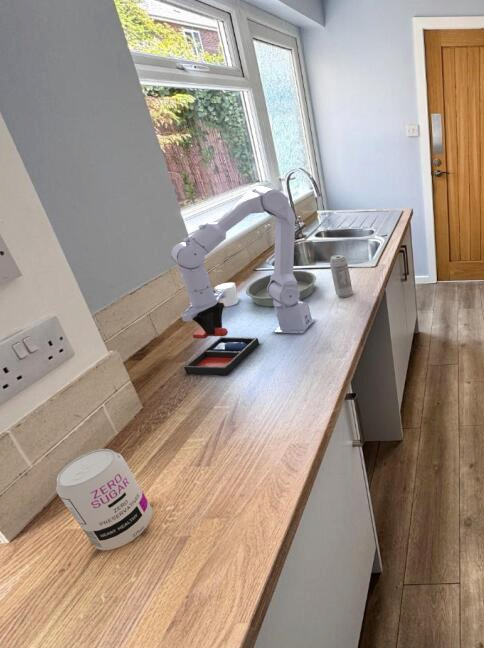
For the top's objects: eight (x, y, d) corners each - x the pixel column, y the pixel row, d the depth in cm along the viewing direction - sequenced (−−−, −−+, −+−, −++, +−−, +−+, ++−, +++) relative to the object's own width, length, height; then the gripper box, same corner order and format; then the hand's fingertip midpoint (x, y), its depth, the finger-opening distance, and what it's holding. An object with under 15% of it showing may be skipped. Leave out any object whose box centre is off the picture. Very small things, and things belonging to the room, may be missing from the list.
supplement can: (117, 509, 73) (79, 448, 66) (164, 504, 73) (131, 443, 67) (82, 555, 65) (35, 492, 59) (135, 549, 66) (94, 486, 59)
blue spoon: (250, 346, 119) (248, 340, 118) (243, 353, 116) (241, 346, 115) (221, 346, 120) (219, 339, 119) (213, 352, 117) (211, 345, 116)
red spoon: (231, 332, 114) (229, 325, 113) (223, 339, 111) (221, 331, 110) (202, 331, 115) (199, 324, 114) (193, 338, 112) (190, 330, 111)
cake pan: (241, 313, 140) (237, 302, 138) (257, 285, 162) (254, 275, 160) (315, 303, 145) (312, 291, 143) (320, 277, 167) (318, 267, 165)
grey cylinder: (350, 289, 154) (343, 252, 148) (355, 295, 149) (348, 257, 143) (334, 293, 151) (326, 256, 145) (338, 299, 147) (331, 261, 140)
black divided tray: (259, 344, 121) (257, 337, 120) (227, 375, 108) (224, 368, 106) (223, 343, 122) (220, 336, 121) (186, 374, 109) (183, 366, 108)
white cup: (231, 307, 145) (225, 290, 142) (215, 306, 146) (209, 289, 143) (244, 299, 151) (239, 282, 148) (228, 298, 152) (223, 281, 149)
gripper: (204, 276, 114) (219, 318, 120) (163, 299, 101) (182, 345, 107) (227, 276, 113) (240, 318, 119) (189, 299, 100) (206, 346, 106)
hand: (214, 331), depth 113 cm, fingers closed on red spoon, 2 cm apart
